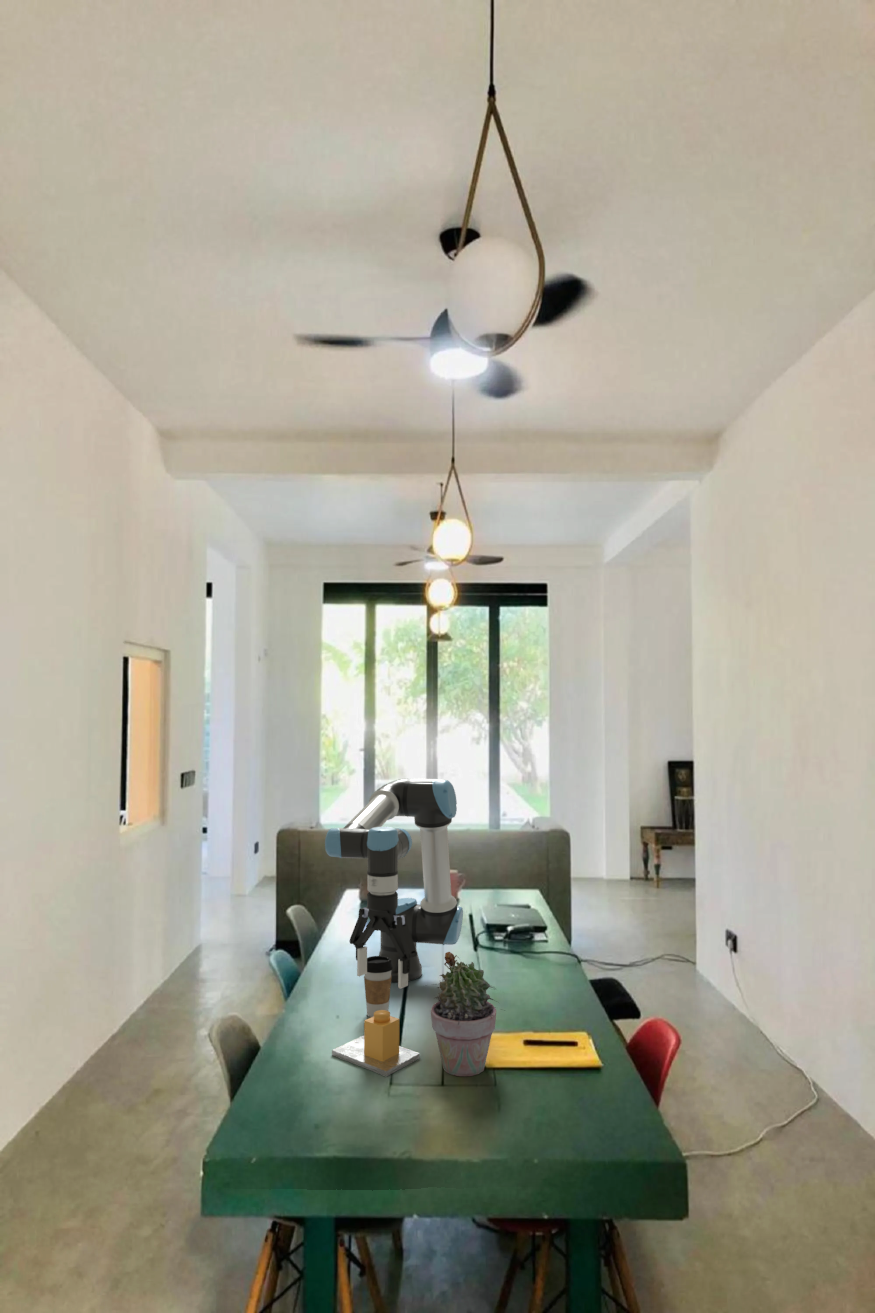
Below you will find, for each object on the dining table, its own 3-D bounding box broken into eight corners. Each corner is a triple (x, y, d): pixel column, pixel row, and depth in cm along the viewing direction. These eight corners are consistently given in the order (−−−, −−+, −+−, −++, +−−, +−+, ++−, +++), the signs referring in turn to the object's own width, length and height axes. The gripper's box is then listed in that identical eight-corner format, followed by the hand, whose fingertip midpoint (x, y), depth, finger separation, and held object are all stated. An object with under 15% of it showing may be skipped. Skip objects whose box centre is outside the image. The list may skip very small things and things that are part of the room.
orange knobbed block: (364, 1055, 182) (364, 1014, 183) (381, 1046, 187) (381, 1006, 187) (382, 1062, 178) (382, 1020, 179) (399, 1053, 183) (399, 1012, 184)
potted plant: (485, 1095, 165) (484, 977, 167) (411, 1073, 175) (411, 962, 177) (521, 1063, 180) (520, 956, 182) (451, 1044, 190) (450, 943, 192)
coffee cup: (369, 1022, 205) (369, 965, 206) (357, 1011, 212) (358, 956, 213) (397, 1016, 208) (397, 960, 210) (385, 1006, 216) (385, 952, 217)
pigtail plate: (331, 1055, 184) (332, 1029, 185) (366, 1039, 194) (366, 1014, 194) (386, 1077, 173) (386, 1048, 174) (419, 1058, 183) (419, 1032, 183)
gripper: (336, 887, 190) (335, 974, 189) (411, 902, 175) (411, 996, 173) (357, 882, 196) (356, 966, 195) (431, 896, 181) (431, 987, 179)
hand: (382, 980), depth 184 cm, fingers open, 13 cm apart
